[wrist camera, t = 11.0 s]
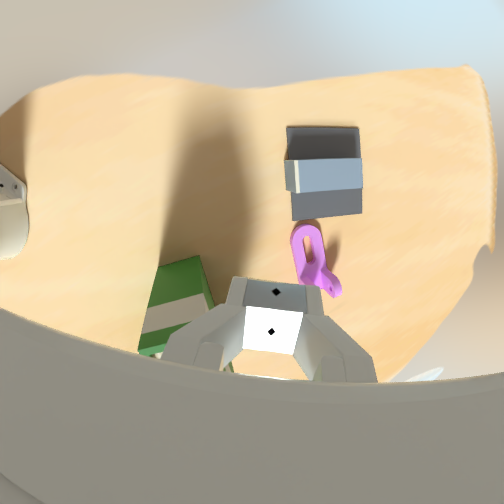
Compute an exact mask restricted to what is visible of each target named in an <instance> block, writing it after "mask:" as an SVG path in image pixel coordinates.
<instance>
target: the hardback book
mask: <svg viewBox="0 0 504 504" xmlns="http://www.w3.org/2000/svg"><path fill="white" fill-rule="evenodd" d="M214 307H215V304H214V301H213V298H212V295H211V292H210V289H209V286H208V283H207V279H206V276H205V273H204V270H203V267H202V263H201V260H200V257H199V255H198V256H195V257H191V258H188V259H185V260H181V261H178V262H174V263H171V264H167V265H164V266H160V267H158V269H157V273H156V276H155V280H154V284H153V287H152V291H151V295H150V299H149V303H148V307H147V311H146V315H145V319H144V323H143V328H142V332H141V337H140V341H139V346H138V352H139V354H140V355H144V356H148V357H153V358H157V359H160V358H161V355H162V353H163V351H164V348H165V346H166V344H167V341H168V339H169V337H170V335H171V334H172V333H174V332H175V331H177V330H178V329H180V328H182V327H183V326H185V325H187V324H188V323H190V322H192V321H193V320H195V319H196V318H198V317H200V316H201V315H203V314H205V313H206V312H208V311H209V310H211V309H213V308H214ZM223 371H226V372H233V373H234V370H233V366H232V362H231V361H230V362H229V363H228V364H227V365H226V366H225V367H224V368H223Z"/></svg>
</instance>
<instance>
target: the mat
mask: <svg viewBox="0 0 504 504" xmlns="http://www.w3.org/2000/svg"><path fill="white" fill-rule="evenodd" d="M286 131H287V143H288V156H289V160H301V159H324V158H361V151H360V136H359V129H355V128H286ZM291 201H292V220H293V221H298V220H307V219H315V218H324V217H333V216H342V215H351V214H361V213H362V188H357V189H342V190H328V191H316V192H304V193H294V192H291Z"/></svg>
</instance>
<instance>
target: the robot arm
mask: <svg viewBox="0 0 504 504" xmlns="http://www.w3.org/2000/svg"><path fill="white" fill-rule="evenodd" d="M16 185H17V188H16ZM26 195H27V188H26V185H25V184H24V183H23V182H22V181H21V180H19V179H18V178H17V177H16V176H15V175H13V174H12V173H11V172H10V171H9V170H7V169H6V168H5V167H4V166H3V165H2V164H0V260H3V259H11V258H14V257H15V256H17V255H18V254H19V253H20V252H21V251H22V249H23V248H24V246H25V243H26V240H27V237H28V229H29V222H28V214H27V209H26ZM243 348H248V349H258V350H268V351H275V352H283V353H291V354H292V355H293V356H294V358H295V359H296V361H297V363H298V364H299V366H300V367H301V369H302V370H303V372H304V373H305V375H306V376H307V378H308V379H309V380H295V379H283V378H273V377H264V376H255V375H247V374H240V373H233V372H226V371H223V368H224V367H225V366H226V365H227V364H228V363H229V362H230V361H232V360H233V359H234V358H235V357H236V356H237V355H238V354H239V353H240V352H241V351H242V350H243ZM0 504H504V372H501V373H495V374H488V375H481V376H474V377H465V378H456V379H446V380H433V381H418V382H394V383H378V381H377V377H376V372H375V368H374V364H373V360H372V357H371V356H370V355H369V354H368V353H367V352H366V351H365V350H364V349H363V348H362V347H361V346H360V345H358V344H357V343H356V342H355V341H354V340H353V339H352V338H351V337H350V336H349V335H348V334H347V333H346V332H345V331H344V330H343V329H342V328H341V327H339V326H338V325H337V324H336V323H335V322H334V321H333V320H332V319H331V318H330V317H329V316H324V310H323V303H322V297H321V291H320V287H319V286H314V285H299V284H289V283H279V282H274V281H267V280H260V279H254V278H247V277H239V276H233V278H232V281H231V284H230V288H229V292H228V295H227V299H226V302H225V304H222V303H221V304H219V305H217V306H216V307H214V308H213V309H211V310H209V311H208V312H206V313H205V314H203V315H201V316H200V317H198V318H196V319H195V320H193V321H192V322H190V323H188V324H187V325H185V326H183V327H182V328H180V329H178V330H177V331H175V332H174V333H172V334H171V335H170V337H169V339H168V341H167V344H166V346H165V348H164V351H163V353H162V355H161V358H160V359H157V358H153V357H148V356H144V355H140V354H136V353H132V352H128V351H124V350H121V349H117V348H113V347H110V346H106V345H103V344H99V343H96V342H92V341H89V340H86V339H83V338H80V337H77V336H73V335H70V334H67V333H64V332H62V331H59V330H56V329H53V328H50V327H47V326H45V325H42V324H39V323H37V322H34V321H32V320H29V319H27V318H24V317H22V316H19V315H17V314H14V313H12V312H10V311H7V310H5V309H3V308H0Z"/></svg>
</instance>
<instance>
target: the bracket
mask: <svg viewBox="0 0 504 504" xmlns="http://www.w3.org/2000/svg"><path fill="white" fill-rule="evenodd" d="M305 236H309V238H310V243H311V248H312V253H313V260H312V261H311V262H309V263H307V262H306V257H305V252H304V247H303V242H302V241H303V238H304V237H305ZM290 244H291V248H292V253H293V257H294V262H295V267H296V271H297V276H298V281H299V285H314V286H319V287H320V289H324V290H325V291H326V292H327V293H328V294H329V295H330V296H331V297H333V298H334V297H337V296H339V295H341V294H342V287H341V284H340V281H339V280H338V278H337V277H336V276H335V275H334V274H333V273H332V272H330V271H329V270H328V269H327V265H326V259H325V253H324V248H323V242H322V236H321V233H320V231H319V230H318V229H317V228H316V227H314V226H312V225H310V224H301V225H299V226H297V227H296V228H295V229H294V230H293V232H292V234H291V237H290Z"/></svg>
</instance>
